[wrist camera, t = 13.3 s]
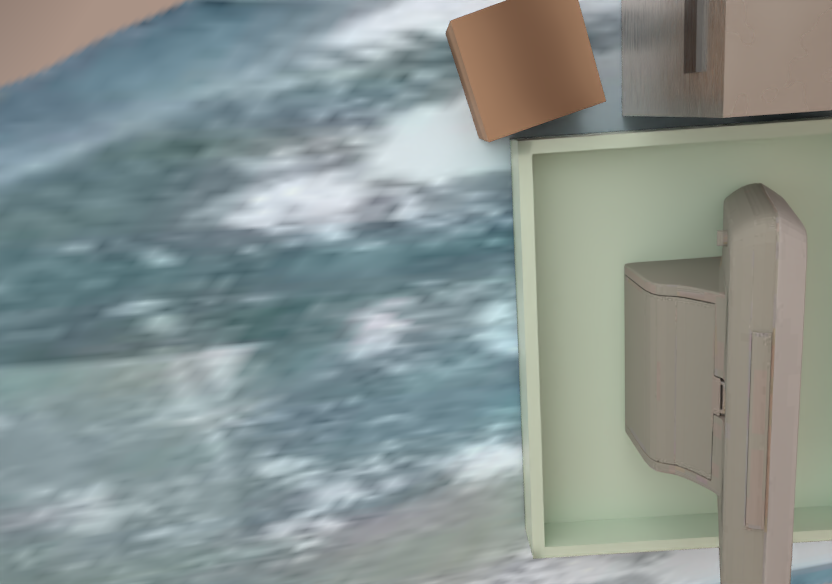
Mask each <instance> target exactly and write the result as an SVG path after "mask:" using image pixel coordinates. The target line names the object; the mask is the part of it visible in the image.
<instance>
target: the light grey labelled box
mask: <svg viewBox="0 0 832 584" xmlns="http://www.w3.org/2000/svg"><path fill="white" fill-rule="evenodd" d="M621 23H622V116H655V117H709V118H727V117H741V116H755V115H769V114H784V113H798V112H812V111H826V110H832V0H621Z"/></svg>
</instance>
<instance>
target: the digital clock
mask: <svg viewBox="0 0 832 584" xmlns="http://www.w3.org/2000/svg"><path fill="white" fill-rule="evenodd" d="M717 246H722V256H719V257H705V258H691V259H677V260H662V261H648V262H634V263H627V264H625V266H624V313H625V432H626V433H627V435H628V436H629V438H630V439H631V441H632V443H633V444H634V446H635V447H636V449H637V450H638V452H639V453H640V455H641V456H642V458H643V459H644V461H645V462H646V463H647V464H648V465H649V466H650V467H651V468H652V469H654V470H656V471H658V472H663V473H668V474H674V475H678V476H681V477H684V478H686V479H688V480H690V481H693V482H695V483H697V484H699V485H701V486H703V487H705V488H707V489H709V490H711V491H712V492H714V493H716V494H717V501H718V528H719V555H720V580H721V584H790V578H791V561H792V543H793V523H794V504H795V485H796V465H797V446H798V427H799V407H800V388H801V369H802V349H803V330H804V311H805V291H806V269H807V233H806V229H805V227H804V225H803V224H802V222H801V221H800V219H799V218H798V217H797V215H796V214H795V213H794V211H793V210H792V209H791V207H790V206H789V205H788V203H787V202H786V201H785V200H784V198H783V197H782V196H780V195H779V194H777V193H776V192H774V191H773V190H772V189H770V188H768V187H767V186H765V185H764V184H762V183H759V184H758V183H753V184H748V185H745V186H742V187H740V188H739V189H737V190H736V191H734V192H733V193H731V194H730V195H729V196H728V197H727V198H726V199H725V200H724V207H723V230H720V231H717ZM727 287H728V289H727ZM727 299H728V305H727ZM727 315H728V320H727ZM726 321H727V326H726ZM726 336H727V341H726Z"/></svg>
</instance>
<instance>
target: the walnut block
mask: <svg viewBox="0 0 832 584" xmlns="http://www.w3.org/2000/svg"><path fill="white" fill-rule="evenodd" d="M446 36H447V39H448V42H449V46H450V49H451V52H452V55H453V58H454V61H455V64H456V68H457V71H458V74H459V77H460V80H461V83H462V86H463V89H464V93H465V96H466V99H467V102H468V105H469V108H470V111H471V114H472V118H473V121H474V124H475V127H476V130H477V133H478V136H479V138H480V139H482V140H485V141H487V142H491V141H494V140H497V139H500V138H502V137H505V136H508V135H511V134H514V133H517V132H520V131H522V130H525V129H528V128H531V127H534V126H537V125H540V124H543V123H545V122H548V121H551V120H554V119H557V118H560V117H563V116H565V115H568V114H571V113H574V112H577V111H580V110H583V109H585V108H588V107H591V106H594V105H597V104H600V103H603V102H606V99H605V95H604V92H603V88H602V85H601V81H600V77H599V74H598V70H597V67H596V63H595V59H594V56H593V52H592V49H591V45H590V41H589V38H588V34H587V31H586V27H585V23H584V20H583V16H582V13H581V9H580V5H579V2H578V0H506V1H504V2H501V3H498V4H495V5H492V6H490V7H487V8H484V9H481V10H479V11H476V12H473V13H470V14H468V15H465V16H462V17H459V18H457V19H454V20H451V21H450V23H449V26H448V28H447V31H446Z"/></svg>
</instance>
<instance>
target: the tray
mask: <svg viewBox="0 0 832 584" xmlns="http://www.w3.org/2000/svg"><path fill="white" fill-rule="evenodd" d="M510 149H511V175H512V200H513V226H514V251H515V277H516V302H517V328H518V353H519V379H520V404H521V430H522V455H523V480H524V506H525V529H526V533H527V537H528V540H529V544H530V548H531V552H532V556H533V559H536V558H552V557H569V556H585V555H601V554H618V553H634V552H650V551H667V550H683V549H699V548H716V547H719V528H718V501H717V494H716V493H714V492H712V491H711V490H709V489H707V488H705V487H703V486H701V485H699V484H697V483H695V482H693V481H690V480H688V479H686V478H684V477H681V476H678V475H674V474H668V473H663V472H658V471H656V470H654V469H652V468H651V467H650V466H649V465H648V464H647V463H646V462H645V461H644V459H643V458H642V456H641V455H640V453H639V452H638V450H637V449H636V447H635V446H634V444H633V443H632V441H631V439H630V438H629V436H628V435H627V433H626V432H625V313H624V266H625V264H627V263H634V262H648V261H662V260H677V259H691V258H705V257H719V256H722V246H717V231H720V230H723V207H724V200H725V199H726V198H727V197H728V196H729V195H730V194H731V193H733V192H734V191H736V190H737V189H739V188H740V187H742V186H745V185H748V184H753V183H758V184H759V183H762V184H764V185H765V186H767V187H768V188H770V189H772V190H773V191H774V192H776V193H777V194H779V195H780V196H782V197H783V198H784V200H785V201H786V202H787V203H788V205H789V206H790V207H791V209H792V210H793V211H794V213H795V214H796V215H797V217H798V218H799V219H800V221H801V222H802V224H803V225H804V227H805V229H806V233H807V269H806V291H805V311H804V330H803V349H802V369H801V388H800V407H799V427H798V446H797V465H796V485H795V504H794V523H793V543H797V542H813V541H830V540H832V116H829V117H814V118H800V119H786V120H772V121H758V122H743V123H729V124H715V125H701V126H687V127H672V128H658V129H644V130H630V131H616V132H601V133H587V134H573V135H559V136H544V137H530V138H516V139H510ZM727 289H728V287H727ZM727 305H728V299H727ZM727 320H728V315H727ZM726 326H727V321H726ZM726 341H727V336H726Z"/></svg>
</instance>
